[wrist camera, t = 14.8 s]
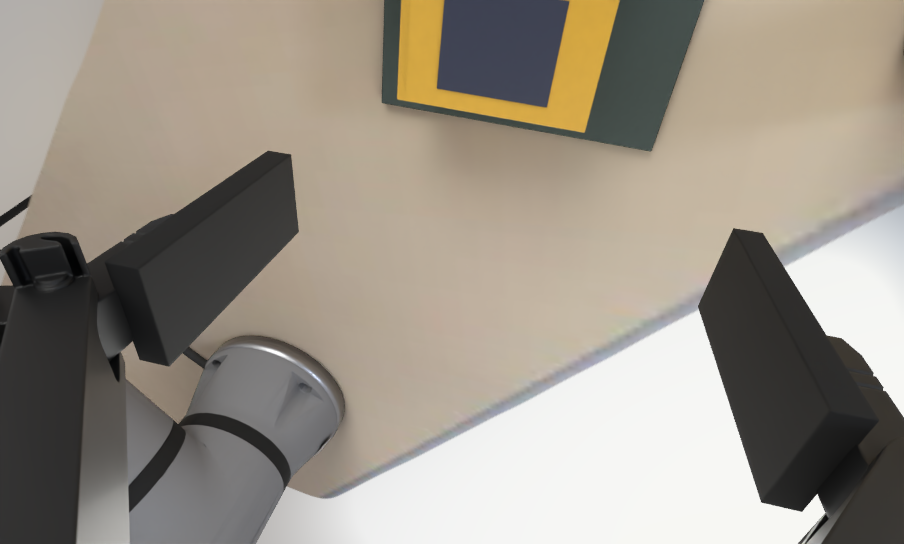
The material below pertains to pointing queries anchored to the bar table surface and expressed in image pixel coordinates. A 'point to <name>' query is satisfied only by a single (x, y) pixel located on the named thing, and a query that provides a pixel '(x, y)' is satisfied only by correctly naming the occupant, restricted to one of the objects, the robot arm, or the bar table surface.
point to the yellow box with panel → (506, 57)
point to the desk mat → (621, 79)
